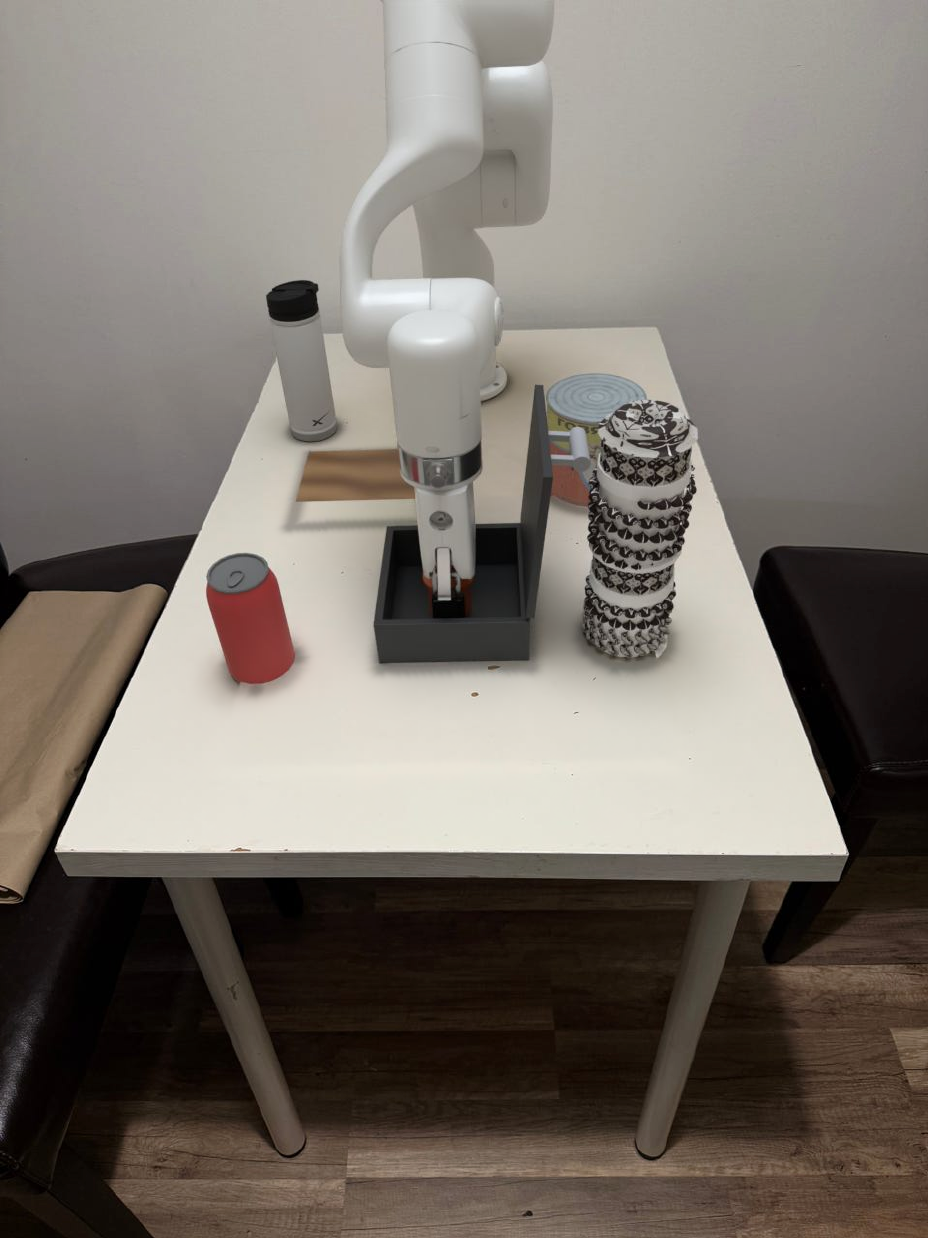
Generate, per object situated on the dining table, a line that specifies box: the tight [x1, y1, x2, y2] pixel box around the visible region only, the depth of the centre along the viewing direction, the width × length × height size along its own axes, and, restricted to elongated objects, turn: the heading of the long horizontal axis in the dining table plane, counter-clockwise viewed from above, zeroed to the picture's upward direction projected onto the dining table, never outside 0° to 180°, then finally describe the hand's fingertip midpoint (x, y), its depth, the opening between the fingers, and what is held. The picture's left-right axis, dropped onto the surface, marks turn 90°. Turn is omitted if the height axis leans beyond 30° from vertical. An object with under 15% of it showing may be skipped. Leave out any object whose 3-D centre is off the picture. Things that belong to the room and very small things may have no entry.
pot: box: [423, 565, 475, 617], centre depth 91 cm, size 5×5×5 cm
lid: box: [519, 384, 591, 619], centre depth 83 cm, size 16×16×5 cm
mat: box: [295, 448, 415, 503], centre depth 111 cm, size 16×16×1 cm
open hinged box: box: [373, 522, 531, 664], centre depth 91 cm, size 15×16×6 cm
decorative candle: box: [581, 398, 699, 660], centre depth 81 cm, size 9×9×25 cm
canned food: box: [545, 372, 648, 508], centre depth 105 cm, size 11×11×12 cm
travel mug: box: [265, 279, 338, 442], centre depth 115 cm, size 6×7×20 cm
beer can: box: [205, 552, 296, 685], centre depth 84 cm, size 7×7×12 cm
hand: (450, 604), depth 92 cm, fingers closed on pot, 5 cm apart
